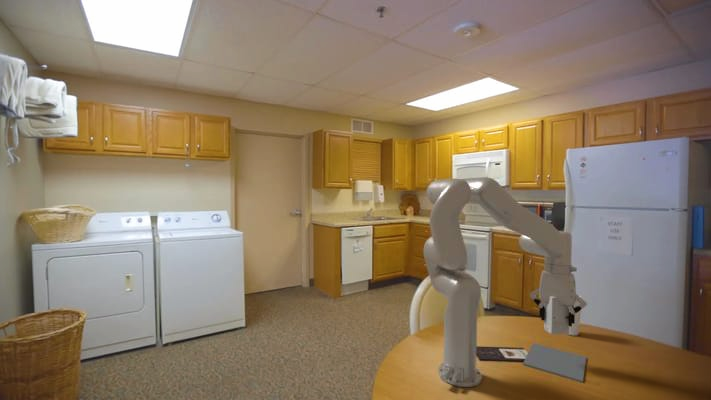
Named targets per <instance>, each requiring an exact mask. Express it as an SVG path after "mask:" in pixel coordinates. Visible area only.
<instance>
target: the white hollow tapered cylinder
mask: <svg viewBox="0 0 711 400" xmlns="http://www.w3.org/2000/svg"><path fill="white" fill-rule="evenodd" d="M578 296H579V297H581V295H578ZM579 304H580V303H579V302H578V301H577V300H576V301H575V304H574V305H573V306H574V308H575V307H576V306H578V305H579ZM569 312H570V311H569ZM581 313H582V309H581V310H580V311H579V312H577V313H575V322H574V324H573V323H572V326H569V334H567V335H568V336H573V337H574V336H578V335H579V333H580V332H579V331H580V320H581Z"/></svg>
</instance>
